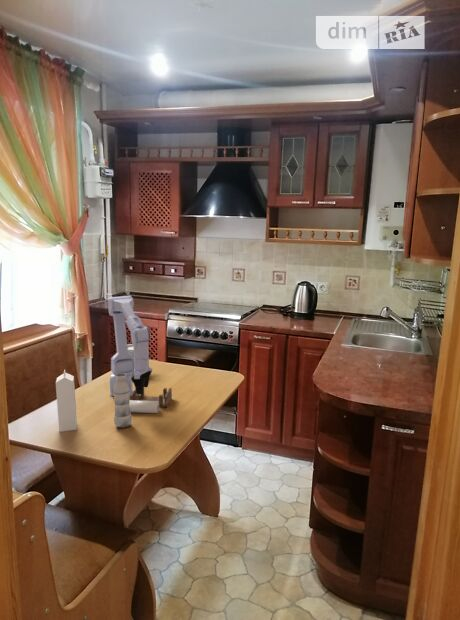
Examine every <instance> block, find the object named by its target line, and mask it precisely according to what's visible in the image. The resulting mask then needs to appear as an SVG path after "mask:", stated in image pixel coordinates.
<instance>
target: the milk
mask: <svg viewBox="0 0 460 620" xmlns="http://www.w3.org/2000/svg"><path fill="white" fill-rule="evenodd" d="M75 386H76V385H75V377H74V375H72V374H70V373H68V372H66V369H64V371H63V373H62V374H61V375H59V376H58V377H56V380H55V391H56V404H57V405H56V406H57V408H56V409H57V417H58V418H57V419H58V420H57V422H58V432H59V433H61V432H70V431H76V430H77V429H78V428H77V427H78V426H77V425H78V419H77V404H76V388H75Z"/></svg>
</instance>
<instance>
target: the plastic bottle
mask: <svg viewBox="0 0 460 620" xmlns="http://www.w3.org/2000/svg"><path fill="white" fill-rule="evenodd" d="M116 381H117V382H116V383H115V385H114V386H113V394H114V396H113V398H114V417H113V418H114V419H113V421H114V425H115V426H116V427H117V428H120V429H123V428H128V427H129V426H130V425H132V420H133V418H132V412H130V406H129V400H130V386H129V384H128V383H127V382H126V374H117V375H116Z"/></svg>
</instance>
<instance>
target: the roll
mask: <svg viewBox="0 0 460 620" xmlns="http://www.w3.org/2000/svg"><path fill="white" fill-rule="evenodd" d="M129 406H130V413H135V414H136V413H137V414H138V413H140V414H142V413H143V414H158V413H159V412H160V408H159V401H140V400H130V399H129Z"/></svg>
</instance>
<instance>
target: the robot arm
mask: <svg viewBox="0 0 460 620" xmlns="http://www.w3.org/2000/svg"><path fill="white" fill-rule="evenodd" d="M134 307H135V302H134V298H133V297H132V295H123V296H110V297H109V298H108V300H107V310H108V314H109V316H111V317H112V318H113V324H114V325H113V328H114V336H115V345H116V353H115V354H114V355H113V356H111V358H110V370H111V375H110V378H109V391H110V392H109V396H113V397H114V394H113V386H114V385H115V383H116V382H117V381H116V375H117V374H126V382H127V383H128V384H129V386H130V395H131V394H132V393H133V391H134V390H135V389H136V392H137V394H139V395H141V394H143V390H144V391H145V388H148V387H149V383H150V377H151V375H152V372H153V368H152V367H150V357H149V356H150V354H149V353H150V352H149V342H150V341H151V336H152V335H151V331H150V328H149V327H148V326H146V325H144V324H143V322H142V320H141V318H140V317H139V316H138V315H136V313H135V312H134ZM126 326H127V327H126ZM126 328H128V330H129V331H130V337H131V344H132V345H133V347H134V356H133V355H132V354H130V353H129V352H128V348H127V345H128V340H127V330H126ZM127 358H129V359H127ZM133 372H134V373H135V374H134V376H132V374H133ZM133 385H134V388H133Z"/></svg>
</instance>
